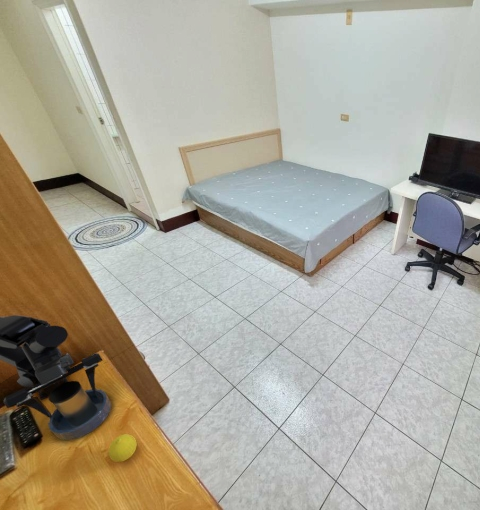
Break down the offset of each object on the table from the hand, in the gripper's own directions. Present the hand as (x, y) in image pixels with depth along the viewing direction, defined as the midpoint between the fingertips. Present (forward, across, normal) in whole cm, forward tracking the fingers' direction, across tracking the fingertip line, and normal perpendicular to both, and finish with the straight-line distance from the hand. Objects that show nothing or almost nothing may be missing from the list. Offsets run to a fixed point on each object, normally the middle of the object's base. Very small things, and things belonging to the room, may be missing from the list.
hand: (74, 404), depth 72 cm
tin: (+4, 0, +6) cm, 8 cm away
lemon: (+19, +4, -7) cm, 21 cm away
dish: (+5, 0, +7) cm, 8 cm away
